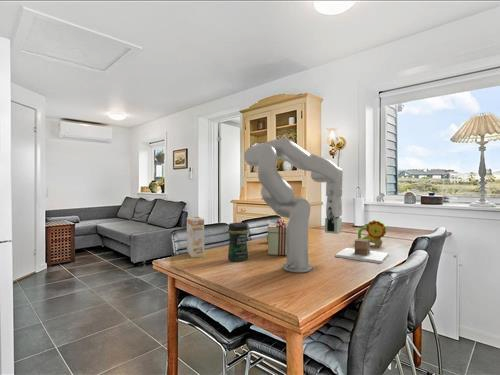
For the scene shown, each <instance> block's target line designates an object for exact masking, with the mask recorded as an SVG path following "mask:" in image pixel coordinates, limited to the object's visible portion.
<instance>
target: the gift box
mask: <svg viewBox="0 0 500 375" xmlns="http://www.w3.org/2000/svg"><path fill="white" fill-rule="evenodd" d="M287 224H288V222H285V220H284V219H277V220H276V222H275V223H274V222H269V223H268V226H267V234H268V241H267V254H268V255H275V256H277V255H278V256H287V233H286V229H287Z"/></svg>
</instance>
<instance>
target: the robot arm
mask: <svg viewBox="0 0 500 375" xmlns="http://www.w3.org/2000/svg"><path fill="white" fill-rule="evenodd" d="M243 159H244V161H245V163H246V164H247V165H248V166H251V167H257V179H258V181H259V183H260V185H262V186H261V189H260V195H261V198H262V200H263V201H264V202H265V203H266V205H268V206H269V207H270V208H271V209H272V211H274V212H275V213H276V214H277V215H278V216H280V217H283V218H287V219H288V218H289V220H288V221H287V223H288V224H287V229H286V233H287V255H286V262H285V263H284V264H283V265H282V269H283V270H285V271H287V272H291V273H300V274H301V273H307V272H308V273H309V272H310V271H312V270H313V266H312V265H311V264H309V220H310V215H311V205H310V202H309V200H307V199H305V198H303V197H296V196H295V192H294V189H293V187H292V186H291V185H290V184H289V183H288V182H287V180H285V179H284V177H283V176H282V175H281V174H280V173H279V171H278V169H277V159H282V160H284V161H285V162H287V163H289V165H291V166H293V167H295V168H296V169H297V170H300V171H306V172H310V178H311V179H312V180H313V181H314V182H316V183H325V186H326V187H325V188H326V190H325V196H326V204H325V215H326V218H327V231H334V218H341V217H342V215H343V201H342V197H343V174H344V172H343V169H342V168H340V167H338V165H336V164H335V163H334V162H332V161H331V160H329V159H328V158H327V159H326V157H325V158H324V157H323V156H319V155H316V154H314V153H311V152H308V151H307V150H305V149H304V148H303V147H301V146H300V145H298V144H297V143H295V142H294V141H293V140H291V139H290V138H286V137H282V138H278V139H277V138H276V139H272V140H269V141H266V142H263V143H259V144H256V145H252V146H249V147H248V148H247V149H246V150H245V151H244V154H243Z"/></svg>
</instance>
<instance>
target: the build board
mask: <svg viewBox="0 0 500 375" xmlns="http://www.w3.org/2000/svg"><path fill="white" fill-rule="evenodd" d="M389 254H390V252H384V251H375V250H370V253H369V254H368V255H367V256H366V255H358V254H355V248H351V247H346V248H344V249H342V250H340V251H338V252H337V253H336V254H335V255H334V256H335V258H342V259H349V260H355V261H361V262H362V261H363V262H368V263H376V264H382V263H384V262H385V260H386V259H387V258H388V257H389Z"/></svg>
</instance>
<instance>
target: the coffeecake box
mask: <svg viewBox="0 0 500 375" xmlns="http://www.w3.org/2000/svg"><path fill="white" fill-rule="evenodd" d="M186 252H187V254H188V255H189V256H190V257H191V258H193V259H194V258H201V257H202V258H205V257H206V256H205V219H204V218H202V217H200V216H187V217H186Z"/></svg>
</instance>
